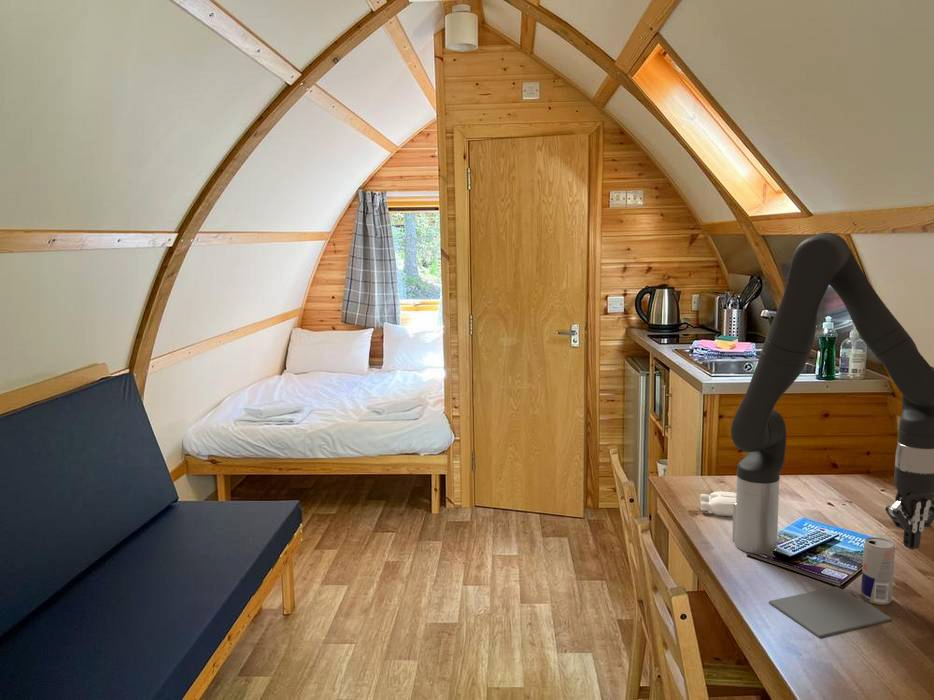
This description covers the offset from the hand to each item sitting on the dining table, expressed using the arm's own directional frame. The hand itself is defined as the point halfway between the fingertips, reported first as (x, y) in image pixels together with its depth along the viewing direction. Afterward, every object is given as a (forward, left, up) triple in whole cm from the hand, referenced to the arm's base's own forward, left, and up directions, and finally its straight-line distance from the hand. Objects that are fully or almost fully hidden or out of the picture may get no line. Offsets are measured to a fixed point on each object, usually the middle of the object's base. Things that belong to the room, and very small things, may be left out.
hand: (911, 547), depth 140 cm
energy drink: (0, -8, -10) cm, 13 cm away
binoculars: (-48, -6, -10) cm, 49 cm away
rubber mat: (+1, -21, -10) cm, 23 cm away
